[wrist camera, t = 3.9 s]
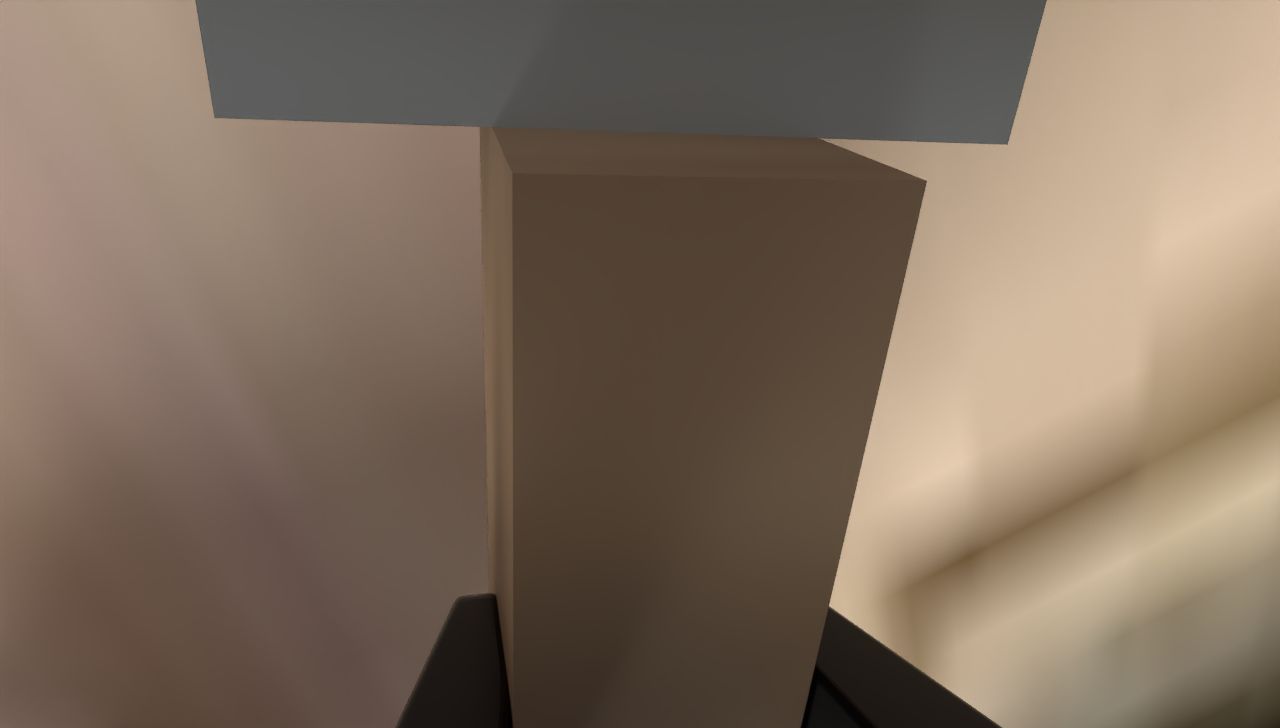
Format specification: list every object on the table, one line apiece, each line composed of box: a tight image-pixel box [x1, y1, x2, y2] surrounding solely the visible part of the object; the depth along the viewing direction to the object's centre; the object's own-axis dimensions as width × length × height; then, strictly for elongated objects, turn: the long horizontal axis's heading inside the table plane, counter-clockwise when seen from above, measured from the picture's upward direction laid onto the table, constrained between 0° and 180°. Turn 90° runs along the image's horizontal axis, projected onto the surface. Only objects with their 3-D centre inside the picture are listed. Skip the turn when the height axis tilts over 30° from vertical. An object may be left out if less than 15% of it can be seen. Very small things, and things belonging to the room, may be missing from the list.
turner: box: [196, 0, 1046, 728], centre depth 7 cm, size 15×6×3 cm, turn 175°
